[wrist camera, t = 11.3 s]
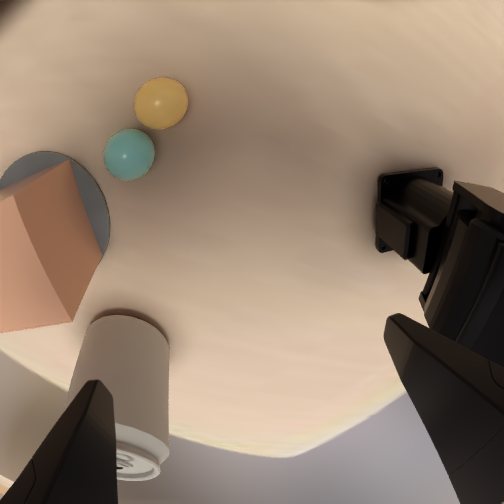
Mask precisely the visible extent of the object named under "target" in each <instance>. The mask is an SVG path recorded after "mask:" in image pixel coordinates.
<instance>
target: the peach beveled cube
mask: <svg viewBox="0 0 504 504" xmlns="http://www.w3.org/2000/svg"><path fill="white" fill-rule="evenodd" d="M102 255H103V254H102V252H101V250H100V247H99V245H98V242H97V240H96V237H95V234H94V232H93V229H92V227H91V224H90V221H89V218H88V216H87V213H86V210H85V207H84V204H83V201H82V198H81V195H80V192H79V189H78V186H77V183H76V180H75V177H74V173H73V170H72V167H71V163H70V160H67V161H64V162H62V163H59V164H57V165H54V166H52V167H50V168H47V169H45V170H42V171H40V172H38V173H36V174H33V175H31V176H29V177H27V178H24V179H22V180H20V181H18V182H16V183H14V184H12V185H10V186H7V187H5V188H3V189H1V190H0V333H4V332H11V331H18V330H24V329H31V328H37V327H43V326H50V325H56V324H62V323H68V322H73V319H74V317H75V314H76V312H77V310H78V307H79V305H80V303H81V300H82V298H83V296H84V293H85V291H86V289H87V287H88V285H89V282H90V280H91V278H92V276H93V274H94V272H95V270H96V268H97V266H98V264H99V261H100V259H101V257H102Z"/></svg>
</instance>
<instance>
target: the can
mask: <svg viewBox="0 0 504 504" xmlns="http://www.w3.org/2000/svg"><path fill="white" fill-rule="evenodd" d="M169 349H170V348H169V345H168V343H167V341H166V338H165V337H164V336H163V335H162V334H161V333H160V332H159V330H158V329H156V328H155V327H153V326H152V325H150V324H149V323H147V322H145V321H143V320H140V319H137V318H134V317H132V316H124V315H111V316H104V317H102V318H100V319H98V320H96V321H94V322H93V323H92V324H91V325H90V326H89V328H88V329H87V331H86V334H85V337H84V340H83V343H82V346H81V350H80V353H79V356H78V359H77V363H76V366H75V370H74V373H73V377H72V380H71V384H70V388H69V391H68V396H67V399H66V403H65V408H64V411H65V410H66V408H67V407H68V406H69V404H70V403H71V402H72V400H73V399H74V397H75V396H76V395H77V393H78V392H79V391H80V389H81V388H82V387H83V385H84V384H85V383H86V382H87V381H88V380H92V379H99V380H101V381H102V382H103V384H104V385H105V386H106V388H107V389H108V390H109V391H110V393H111V394H112V396H113V401H114V417H115V429H116V445H117V479H119V480H128V481H140V480H148V479H151V478H154V477H156V476H157V475H159V473H161V472H160V466H159V465H160V464H161V463H162V462H163V461H165V459H166V458H167V457H168V456H169V420H168V393H169Z"/></svg>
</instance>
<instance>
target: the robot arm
mask: <svg viewBox="0 0 504 504" xmlns="http://www.w3.org/2000/svg"><path fill="white" fill-rule="evenodd" d="M437 173H438V175H437ZM385 179H386V182H385V183H384V180H385ZM442 184H443V171H442V170H441V169H440V168H427V169H418V170H410V171H402V172H394V173H386V174H382V175H381V176H380V177H379V179H378V204H377V215H376V234H377V238H376V249H377V250H378V251H379V252H381V253H384V252H388V251H391V250H394V251H395V252H396V253H398V254H399V255H400V256H401V257H402V258H403V259H404V260H407V259H408V260H409V261H410V262H411V263H412V264H414V265H415V266H416V267H417V268H418V269H419V270H420V271H421V272H422V273H423V274H427V273H429V276H428V279H427V281H426V284H425V287H424V289H423V291H422V292H421V293H420V296H419V301H420V303H421V306H422V308H423V311H424V316H425V319H426V321H427V323H428V326H429V328H428V327H426V326H424V325H422V324H420V323H418V322H416V321H414V320H412V319H411V318H409V317H407V316H405V315H403V314H400V313H397V314H394V315H391V316H389V317H388V318H387V320H386V325H385V330H384V341H385V343H386V346H387V348H388V351H389V353H390V355H391V358H392V360H393V363H394V365H395V367H396V370H397V372H398V375H399V377H400V379H401V381H402V383H403V385H404V387H405V389H406V391H407V393H408V395H409V397H410V398H411V400H412V402H413V404H414V406H415V408H416V410H417V412H418V414H419V416H420V418H421V419H422V422H423V424H424V425H425V428H426V430H427V431H428V433H429V435H430V437H431V440H432V442H433V444H434V446H435V448H436V450H437V452H438V454H439V456H440V458H441V461H442V463H443V464H444V467H445V469H446V471H447V474H448V475H449V478H450V481H451V483H452V485H453V488H454V490H455V492H456V494H457V497H458V499H459V501H460V504H504V193H502V192H500V191H498V190H496V189H494V188H491V187H486V186H481V185H476V184H470V183H465V182H459V181H454V184H453V190H454V191H453V192H451V191H449V190H447V189H445V188H444V187H442ZM382 245H383V247H381V246H382ZM0 504H118V493H117V445H116V429H115V417H114V401H113V396H112V394H111V393H110V391H109V390H108V389H107V388H106V386H105V385H104V384H103V382H102V381H101V380H99V379H92V380H88V381H87V382H86V383H85V384H84V385H83V387H82V388H81V389H80V391H79V392H78V393H77V395H76V396H75V397H74V399H73V400H72V402H71V403H70V404H69V406H68V407H67V408H66V410H65V411H64V412H63V414H62V415H61V417H60V418H59V419H58V421H57V422H56V424H55V425H54V426H53V428H52V429H51V431H50V432H49V433H48V435H47V436H46V438H45V439H44V441H43V442H42V444H41V445H40V447H39V448H38V449H37V451H36V452H35V454H34V455H33V457H32V459H31V460H30V461H29V462H28V464H27V465H26V467H25V468H24V470H23V471H22V473H21V474H20V476H19V477H18V478H17V479H16V481H15V482H14V483H13V485H12V486H11V487H10V488H9V490H8V491H7V492H6V493H5V495H4V496H3V497H2V498H1V500H0Z"/></svg>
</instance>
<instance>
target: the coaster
mask: <svg viewBox="0 0 504 504" xmlns="http://www.w3.org/2000/svg"><path fill="white" fill-rule="evenodd" d="M67 160H70V163H71V167H72V170H73V173H74V177H75V180H76V183H77V186H78V189H79V192H80V195H81V198H82V201H83V204H84V207H85V210H86V213H87V216H88V218H89V221H90V224H91V227H92V229H93V232H94V234H95V237H96V240H97V242H98V245H99V247H100V250H101V252H102V254H103V255H104V253H105V251H106V248H107V245H108V241H109V234H110V219H109V212H108V208H107V204H106V201H105V199H104V196H103V193H102V192H101V190H100V188H99V186H98V184H97V183H96V181H95V180H94V178H93V177H92V176H91V175H90V174H89V172H88V171H87V170H86V169H85V168H84V167H82V166H81V165H80V164H79V163H77V162H76V161H75V160H73V159H71V158H69V157H67V156H65V155H63V154H59V153H56V152H49V151H42V152H35V153H31V154H29V155H26V156H24V157H22V158H20V159H19V160H17V161H16V162H14V163H13V164H12V165H11V166H10V167H9V168H8V169H7V170H6V172H5V173H4V175H3V176H2V178H1V180H0V190H1V189H3V188H5V187H7V186H10V185H12V184H14V183H16V182H18V181H20V180H22V179H24V178H27V177H29V176H31V175H33V174H36V173H38V172H40V171H42V170H45V169H47V168H50V167H52V166H54V165H57V164H59V163H62V162H64V161H67ZM103 255H102V257H103ZM102 257H101V259H102ZM101 259H100V261H101ZM100 261H99V263H100Z"/></svg>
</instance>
